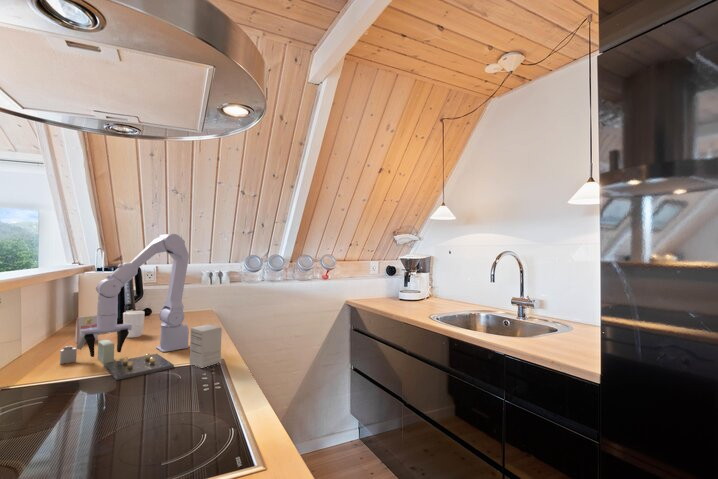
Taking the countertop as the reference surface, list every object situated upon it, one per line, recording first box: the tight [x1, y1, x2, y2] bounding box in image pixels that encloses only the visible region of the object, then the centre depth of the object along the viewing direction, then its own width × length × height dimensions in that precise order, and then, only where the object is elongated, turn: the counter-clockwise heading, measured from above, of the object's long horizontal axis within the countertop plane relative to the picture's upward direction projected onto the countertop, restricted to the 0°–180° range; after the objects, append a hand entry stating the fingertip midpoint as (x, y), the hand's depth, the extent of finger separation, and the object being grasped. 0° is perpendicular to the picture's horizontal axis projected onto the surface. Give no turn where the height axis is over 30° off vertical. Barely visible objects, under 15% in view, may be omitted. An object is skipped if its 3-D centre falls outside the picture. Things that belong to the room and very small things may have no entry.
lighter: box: [59, 336, 87, 365], centre depth 123 cm, size 7×2×8 cm, turn 136°
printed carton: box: [74, 315, 99, 345], centre depth 147 cm, size 4×7×10 cm, turn 136°
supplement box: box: [189, 323, 223, 368], centre depth 124 cm, size 7×7×13 cm
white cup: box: [122, 310, 145, 339], centre depth 157 cm, size 8×8×10 cm
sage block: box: [97, 339, 115, 365], centre depth 126 cm, size 3×8×6 cm, turn 46°
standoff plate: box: [103, 353, 175, 381], centre depth 120 cm, size 16×16×3 cm
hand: (105, 353), depth 126 cm, fingers open, 7 cm apart
